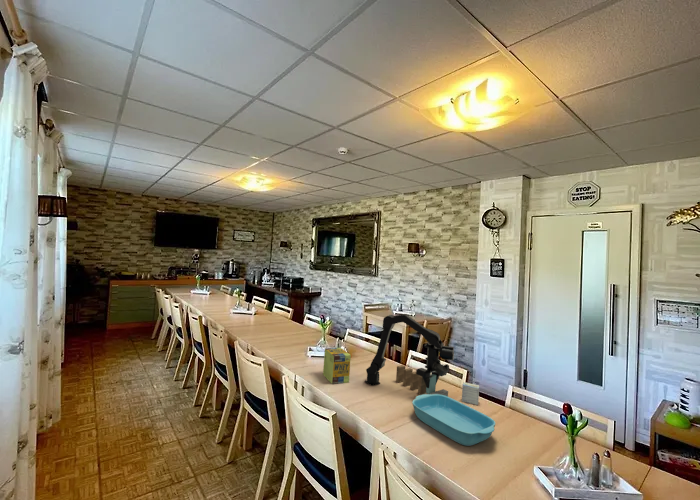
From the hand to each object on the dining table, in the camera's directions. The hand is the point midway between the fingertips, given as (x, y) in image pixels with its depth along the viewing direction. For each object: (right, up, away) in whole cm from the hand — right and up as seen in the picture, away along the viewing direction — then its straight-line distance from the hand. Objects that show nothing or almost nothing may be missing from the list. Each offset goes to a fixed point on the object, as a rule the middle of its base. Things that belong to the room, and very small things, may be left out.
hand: (431, 386), depth 165 cm
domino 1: (-13, -5, +18) cm, 22 cm away
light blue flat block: (0, -3, 0) cm, 3 cm away
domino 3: (-7, -5, +9) cm, 12 cm away
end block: (+3, -5, -5) cm, 8 cm away
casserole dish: (+1, -5, -29) cm, 30 cm away
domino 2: (-10, -5, +13) cm, 17 cm away
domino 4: (-4, -5, +4) cm, 7 cm away
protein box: (-51, -2, +16) cm, 53 cm away
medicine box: (+19, -7, -3) cm, 21 cm away
